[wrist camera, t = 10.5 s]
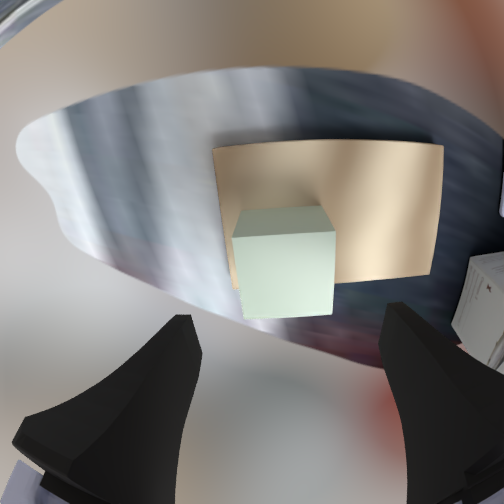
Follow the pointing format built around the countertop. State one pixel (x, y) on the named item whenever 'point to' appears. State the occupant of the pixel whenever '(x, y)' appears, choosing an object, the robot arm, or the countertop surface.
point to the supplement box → (483, 310)
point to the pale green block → (285, 262)
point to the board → (343, 197)
